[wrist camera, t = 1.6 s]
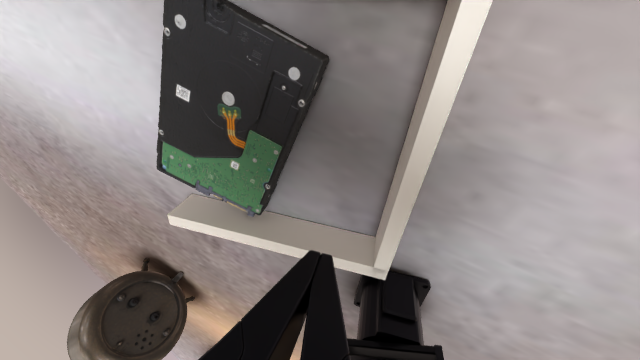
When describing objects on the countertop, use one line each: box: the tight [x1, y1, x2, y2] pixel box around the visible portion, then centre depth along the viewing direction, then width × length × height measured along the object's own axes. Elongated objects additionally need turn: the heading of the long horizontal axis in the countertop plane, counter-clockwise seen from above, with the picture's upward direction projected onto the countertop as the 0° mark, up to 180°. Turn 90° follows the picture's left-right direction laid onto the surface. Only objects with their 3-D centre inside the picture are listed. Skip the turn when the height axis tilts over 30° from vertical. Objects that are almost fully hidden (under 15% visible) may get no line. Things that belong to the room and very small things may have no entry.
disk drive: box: [157, 0, 329, 217], centre depth 19 cm, size 10×3×15 cm
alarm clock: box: [67, 258, 195, 360], centre depth 28 cm, size 11×5×16 cm, turn 40°
